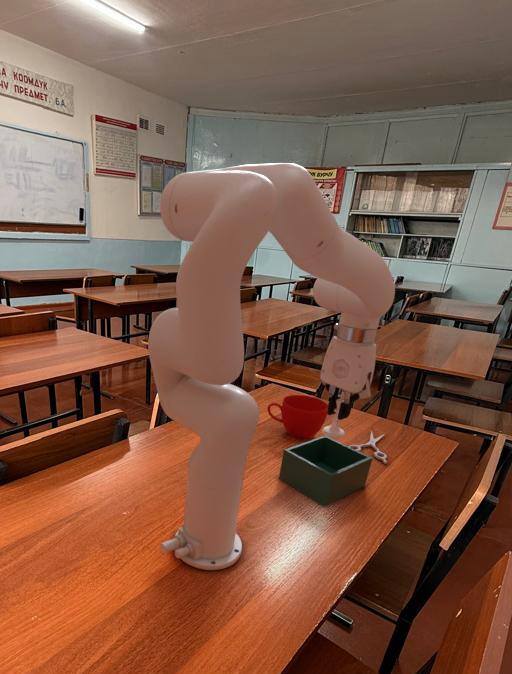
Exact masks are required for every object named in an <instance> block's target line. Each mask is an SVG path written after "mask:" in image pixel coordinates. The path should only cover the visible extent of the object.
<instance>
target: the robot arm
mask: <svg viewBox="0 0 512 674" xmlns="http://www.w3.org/2000/svg"><path fill="white" fill-rule="evenodd" d="M159 201H160V202H159V212H160V217H161V221H162V223H163V225H164V227H165V228H166V230H167V231H168V232H169V233H170V234H171V235H172V236H174V237H175V238H176V239H178V240H181V241H185V242H191V244H190V246H189V247H188V249H187V252H186V253H185V255H184V257H183V259H182V261H181V263H180V265H179V267H178V271H177V275H176V279H175V281H176V282H175V297H176V304H177V307H171V308H168V309H165V310H164V311H162V312H161V313H159V314H158V316H156V318H155V319H154V321H153V323H152V325H151V327H150V330H149V334H148V340H147V350H148V352H147V353H148V357H149V362H150V366H151V369H152V370H151V371H152V376H153V380H154V384H155V388H156V393H157V396H158V400H159V403H160V406H161V409H162V410H163V412H164V414H165V415H166V416H167V417H168V418H169V419H171V421H174V422H175V423H177V424H179V425H180V426H183V427H184V428H185V429H188V430H189V431H191V432H192V433H194V434H196V436H197V435H198V437H199V439H200V441H199V444H198V445H197V447H195V448H194V450H193V451H192V452H191V454H190V456H189V458H188V464H187V475H186V488H185V502H184V512H183V513H184V515H183V524H182V526H179V527H178V529H177V531H176V532H175V534H174V537H173V538H172V539H168V540H165V541H163V542H161V543H160V544H159V550H160V551H161V553H162V554H163V555H166V554H168V553H170V552H173V551H174V556H175V557H176V559H180V560H181V561H182V562H184V563H185V564H187V565H189V566H191V567H193V568H196V569H200V570H205V571H217V570H223V569H226V568H229V567H231V566H232V565H234V564H235V563H237V562H238V560H239V559H240V557H241V555H242V550H243V542H242V540H241V537H240V535H238V533H237V525H238V518H239V512H240V505H241V497H242V491H243V484H244V477H245V476H244V475H245V469H246V465H247V458H248V453H249V450H250V446H251V443H252V440H253V437H254V435H255V432H256V429H257V427H258V423H259V420H260V408H259V406H258V405H259V404H258V403H257V402H256V400H255V399H254V397H253V396H252V395H251V394H250V393H248V392H247V391H245V390H244V389H242V388H241V387H239V386H236V385H234V384H232V383H233V382H235V381H236V380H237V379H238V378H239V377H240V375H241V373H242V372H243V368H244V364H245V363H244V362H245V345H244V344H245V343H244V332H243V331H244V329H243V320H242V308H241V307H242V306H241V283H242V279H243V275H244V272H245V270H246V268H247V265H248V263H249V261H250V260H251V258H252V256H253V255H254V253H255V252H256V250H257V248H258V247H259V245H260V244H261V242H262V241H263V240H264V238H265V237H266V236H267V234H268V233H270V234H271V235H272V237H273V238H274V239H275V240H276V242H277V243H278V244H279V246H280V247H281V248H282V250H283V251H284V252H285V254H286V255H287V256H288V257H289V259H290V260H291V262H292V263H293V265H294V266H296V267H297V268H298V269H300V270H301V271H303V272H305V273H307V274H309V275H311V276H313V277H315V278H316V280H315V282H314V283H313V287H312V288H313V289H312V296H313V299H314V301H315V303H316V304H317V305H318V306H319V307H320V308H323V309H325V310H328V311H333V312H338V313H340V318H339V321H338V323H335V324H334V325H333V330H335V331H336V336H332V337H331V340H330V342H329V344H328V346H327V349H326V353H325V355H324V359H323V361H322V366H321V370H320V376H319V382H320V383H321V384H322V385H323V386H324V387H325V389H326V391H327V397H328V398H329V400H328V403H327V405H328V412H327V416H332V415H335V414H336V412H334V409H335V408H337V404H336V400H337V399H340V398H341V397H338V394H340V395H341V392H342V391H345V392H344V395H345V398H343V400H344V402H342V403H341V405H340V409H339V413H338V419H339V421H342V420H345V419H348V418H349V416H350V415H351V412H352V408H353V403H355V402H357V401H358V400H365V399H370V398H371V397H372V394H371V385H372V381H373V378H374V373H375V367H376V359H377V344H376V343H375V340H376V336H377V332H378V328H379V324H380V320H381V317H383V316H385V315H386V314H387V313H388V311H389V310H390V309H391V307H392V305H393V303H394V300H395V295H396V285H395V280H394V277H393V275H392V272H391V270H390V267H389V266H388V264H387V262H386V261H385V259H384V258H383V257H382V256H381V255H380V254H379V253H378V252H377V251H375V249H373V248H371V247H370V246H368V245H367V244H366V243H364V242H363V241H361V240H360V239H358V238H357V237H355V236H354V235H353V234H351V233H349V232H348V231H346V230H344V229H343V228H342V227H341V226H340V224H339V223H338V221H337V220H336V218H335V216H334V213H333V212H332V211H331V208H330V207H329V205H328V203H327V201H326V199H325V197H324V196H323V194H322V192H321V190H320V188H319V187H318V185H317V183H316V181H315V179H314V177H313V176H312V174H311V173H310V171H309V170H308V169H306V168H305V167H303V166H302V165H300V164H297V163H292V162H275V163H273V162H271V163H251V164H242V165H241V164H240V165H236V166H229V167H223V168H216V169H215V168H213V169H206V170H205V169H204V170H197V171H196V170H195V171H186V172H181V173H179V174H177V175H175V176H173V177H172V178H171V179H170V180H169V181H168V182H167V184H166V185H165V187H164V189H163V190H162V193H161V195H160V200H159Z"/></svg>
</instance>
